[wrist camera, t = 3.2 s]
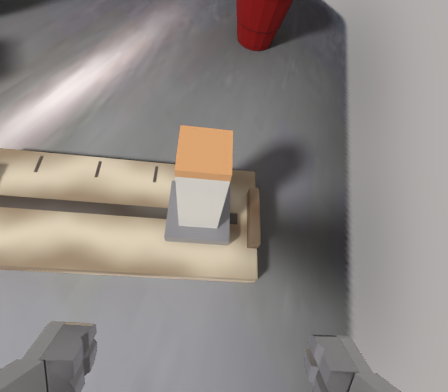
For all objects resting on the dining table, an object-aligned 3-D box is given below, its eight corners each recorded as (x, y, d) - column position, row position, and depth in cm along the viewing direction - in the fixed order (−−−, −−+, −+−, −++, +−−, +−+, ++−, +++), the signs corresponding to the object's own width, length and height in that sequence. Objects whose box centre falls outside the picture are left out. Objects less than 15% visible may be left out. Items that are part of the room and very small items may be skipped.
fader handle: (227, 245, 27) (250, 193, 17) (165, 241, 26) (152, 185, 16) (228, 190, 29) (249, 119, 20) (172, 186, 29) (164, 110, 19)
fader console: (253, 283, 28) (261, 276, 24) (-48, 266, 25) (-82, 256, 22) (251, 180, 33) (258, 163, 30) (4, 158, 31) (-17, 137, 27)
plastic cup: (250, 71, 42) (272, -18, 31) (209, 31, 45) (216, -62, 35) (299, 49, 46) (333, -37, 35) (258, 14, 49) (278, -74, 38)
